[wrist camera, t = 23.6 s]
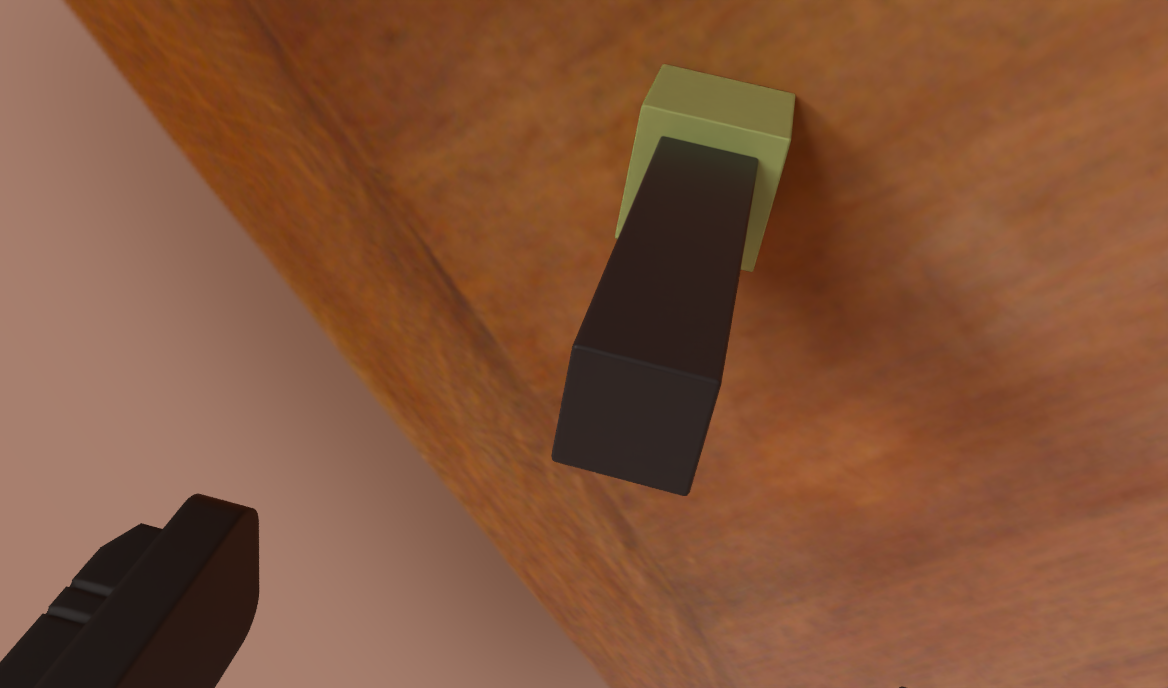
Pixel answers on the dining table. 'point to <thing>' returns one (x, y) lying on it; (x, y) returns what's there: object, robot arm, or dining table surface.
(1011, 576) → the dining table surface
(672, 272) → the brush
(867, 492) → the dining table surface
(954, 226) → the dining table surface
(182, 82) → the dining table surface
